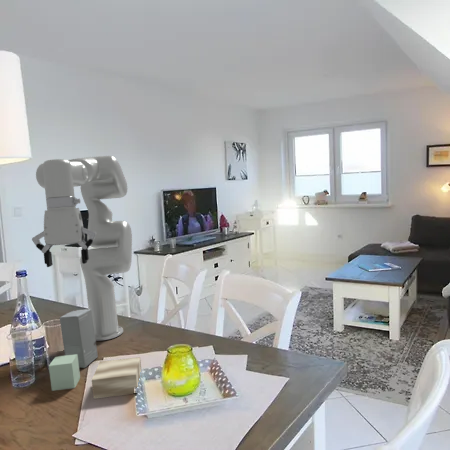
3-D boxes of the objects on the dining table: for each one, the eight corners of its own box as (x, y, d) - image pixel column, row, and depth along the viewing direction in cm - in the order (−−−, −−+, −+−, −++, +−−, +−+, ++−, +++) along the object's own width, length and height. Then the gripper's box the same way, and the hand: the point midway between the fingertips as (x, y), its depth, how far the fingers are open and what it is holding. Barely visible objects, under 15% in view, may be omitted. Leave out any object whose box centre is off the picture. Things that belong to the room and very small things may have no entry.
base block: (102, 378, 117) (100, 361, 117) (141, 374, 118) (140, 356, 118) (93, 398, 107) (91, 379, 106) (137, 393, 108) (135, 374, 107)
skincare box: (85, 368, 125) (79, 316, 124) (63, 368, 127) (57, 317, 125) (99, 356, 133) (93, 307, 132) (79, 356, 135) (73, 308, 133)
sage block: (58, 380, 119) (55, 356, 118) (80, 377, 119) (77, 354, 119) (51, 390, 113) (48, 365, 112) (74, 388, 113) (71, 363, 113)
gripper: (95, 201, 123) (101, 260, 124) (33, 206, 121) (40, 265, 122) (89, 201, 115) (96, 263, 116) (24, 206, 114) (30, 269, 115)
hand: (67, 264), depth 119 cm, fingers open, 9 cm apart
